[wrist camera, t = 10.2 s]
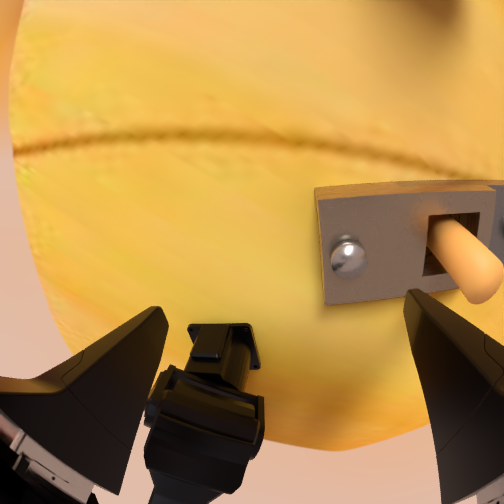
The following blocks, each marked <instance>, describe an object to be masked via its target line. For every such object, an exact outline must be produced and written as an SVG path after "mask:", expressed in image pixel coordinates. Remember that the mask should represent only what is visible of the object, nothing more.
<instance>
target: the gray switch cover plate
mask: <svg viewBox="0 0 504 504" xmlns="http://www.w3.org/2000/svg"><path fill="white" fill-rule="evenodd" d="M315 197H316V207H317V217H318V228H319V239H320V253H321V267H322V284H323V292H324V301H325V305H334V304H344V303H354V302H363V301H372V300H381V299H389V298H396V297H404V296H406V292H407V290H408V289H415V288H418V289H420V290H422V291H423V292H425V293H431V292H438V291H444V290H450V289H456V288H459V287H458V286H457V284H456V283H455V281H454V280H453V279H452V277H451V276H450V275H449V273H448V272H447V271H446V269H445V268H444V267H443V266H442V264H441V263H440V264H432V265H424V260H425V252H426V242H427V231H428V218H429V215H441V214H456V213H470V215H469V224H468V231H469V232H470V233H471V234H472V235H473V236H475V237H476V238H477V239H478V240H479V241H480V242H481V243H482V244H483V245H485V246H486V247H487V248H488V249H489V244H490V239H491V233H492V226H493V219H494V211H495V202H496V190H494V189H493V188H491V187H489V186H487V185H441V186H413V187H400V186H399V185H397V184H396V183H395V182H383V183H367V184H354V185H341V186H329V187H319V188H315Z"/></svg>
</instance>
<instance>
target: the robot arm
mask: <svg viewBox="0 0 504 504" xmlns="http://www.w3.org/2000/svg"><path fill="white" fill-rule="evenodd" d="M403 312H404V318H405V322H406V327H407V332H408V336H409V341H410V346H411V351H412V355H413V358H414V361H415V365H416V368H417V371H418V375H419V379H420V382H421V386H422V390H423V394H424V398H425V402H426V406H427V410H428V414H429V419H430V424H431V429H432V434H433V439H434V445H435V451H436V458H437V465H438V472H439V481H440V491H441V503H442V504H455V503H457V502H460V501H462V500H465V499H467V498H469V497H472V496H474V495H477V504H504V346H503V345H501V344H500V343H499V342H497V341H496V340H494V339H493V338H491V337H490V336H489V335H487V334H485V333H484V332H483V331H481V330H480V329H479V328H477V327H476V326H474V325H473V324H471V323H470V322H469V321H467V320H466V319H464V318H463V317H461V316H460V315H458V314H457V313H455V312H454V311H452V310H451V309H449V308H448V307H446V306H445V305H443V304H442V303H440V302H439V301H437V300H436V299H434V298H433V297H431V296H429V295H428V294H426V293H425V292H423V291H422V290H420V289H418V288H415V289H408V290H407V292H406V297H405V303H404V309H403ZM168 328H169V324H168V321H167V319H166V316H165V314H164V312H163V309H162V308H161V307H160V306H151V307H149V308H147V309H146V310H144V311H143V312H141V313H139V314H138V315H136V316H135V317H133V318H132V319H130V320H129V321H127V322H125V323H124V324H122V325H121V326H119V327H118V328H116V329H115V330H113V331H111V332H110V333H108V334H107V335H105V336H104V337H102V338H101V339H99V340H98V341H96V342H94V343H93V344H91V345H90V346H88V347H87V348H85V350H82V351H80V352H79V353H77V354H76V355H74V356H73V357H71V358H69V359H68V360H66V361H64V362H63V363H61V364H59V365H57V366H56V367H54V368H52V369H51V370H49V371H47V372H45V373H43V374H41V375H39V376H38V377H35V378H32V379H16V378H9V377H1V376H0V504H99V503H98V501H97V498H96V496H95V494H94V493H92V492H91V491H92V489H93V486H94V485H96V486H98V487H100V488H102V489H104V490H107V491H109V492H111V493H113V494H115V495H119V493H120V489H121V486H122V482H123V478H124V475H125V471H126V467H127V464H128V460H129V457H130V453H131V450H132V446H133V443H134V440H135V436H136V433H137V430H138V427H139V424H140V420H141V417H142V414H143V411H145V415H144V417H145V420H144V425H145V426H147V427H149V428H151V429H150V432H149V434H148V437H147V440H146V443H145V446H144V459H145V464H146V468H147V469H149V471H150V474H151V477H152V480H153V484H154V488H153V491H152V494H151V497H150V500H149V503H148V504H209V503H210V502H211V501H213V500H214V499H216V498H217V497H219V496H220V495H221V494H223V493H226V494H232V493H234V492H235V490H237V489H238V488H239V487H240V486H241V484H242V480H243V477H244V473H245V470H246V467H247V464H248V462H249V460H252V459H254V458H255V456H256V455H257V453H258V451H259V449H260V447H261V444H262V441H263V437H264V431H265V420H264V397H262V396H259V395H258V396H255V395H252V394H249V393H245V387H246V382H247V378H248V373H249V370H257V369H259V368H260V365H261V363H260V359H259V355H258V351H257V347H256V343H255V339H254V335H253V331H252V327H251V325H250V324H248V323H232V324H189V326H188V328H187V330H188V333H189V335H190V337H191V340H192V342H193V344H194V345H193V347H192V350H191V352H190V357H189V359H188V362H187V364H186V367H185V369H184V371H183V370H181V369H178V368H176V366H173V365H171V364H170V365H169V367H168V369H167V370H165V371H164V372H160V374H159V376H158V379H157V381H156V383H155V385H154V386H153V388H152V389H151V387H152V384H153V381H154V378H155V375H156V372H157V369H158V367H159V364H160V361H161V357H162V353H163V349H164V345H165V340H166V336H167V332H168ZM191 328H192V329H191ZM245 328H247V329H245Z"/></svg>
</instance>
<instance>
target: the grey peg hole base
mask: <svg viewBox="0 0 504 504" xmlns="http://www.w3.org/2000/svg"><path fill="white" fill-rule="evenodd" d="M395 183H396V184H397V185H399V186H400V187H413V186H441V185H487V186H489V187H491V188H493V189H494V190H496V202H495V211H494V219H493V226H492V233H491V239H490V244H489V250H490V251H491V252H492V253H493V254H494V255H495V256H496V257H497V258H498V259H499V260H500V261H501V262H502V264H503V267H504V181H501V180H430V181H402V182H395ZM469 215H470V213H460V220H459V223H460V224H461V225H462V226H463V227H464V228H465V229H467V230H468V224H469ZM432 264H440V262H439V260H438V259H437V258H436V257H435V255H427V256H425V260H424V265H432Z"/></svg>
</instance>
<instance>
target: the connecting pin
mask: <svg viewBox="0 0 504 504" xmlns="http://www.w3.org/2000/svg"><path fill="white" fill-rule="evenodd" d="M426 246H427V247H428V248H429V249H430V251H431V252H432V253H433V254H434V255H435V257H436V258H437V259H438V260H439V262H440V263H441V264H442V266H443V267H444V268H445V269H446V271H447V272H448V273H449V275H450V276H451V277H452V279H453V280H454V281H455V283H456V284H457V286H458V287H459V288H460V290H461V291H462V293H463V294H464V295H465V297H466V298H467V300H468V301H469V302H470V303H472V304H481V303H483V302H485V301H487V300H488V299H490V298H491V297H492V296H493V295H494V294H495V293H496V291H497V290H498V288H499V287H500V285H501V283H502V280H503V276H504V267H503V264H502V262H501V261H500V260H499V259H498V258H497V257H496V256H495V255H494V254H493V253H492V252H491V251H490V250H489V249H488V248H487V247H486V246H485V245H483V244H482V243H481V242H480V241H479V240H478V239H477V238H476V237H475V236H473V235H472V234H471V233H470V232H469V231H468V230H467V229H465V228H464V227H463V226H462V225H461V224H460V223H458V222H457V221H456V220H455V219H453V218H452V217H451V216H450V215H449V214H441V215H429V218H428V231H427V242H426Z"/></svg>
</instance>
